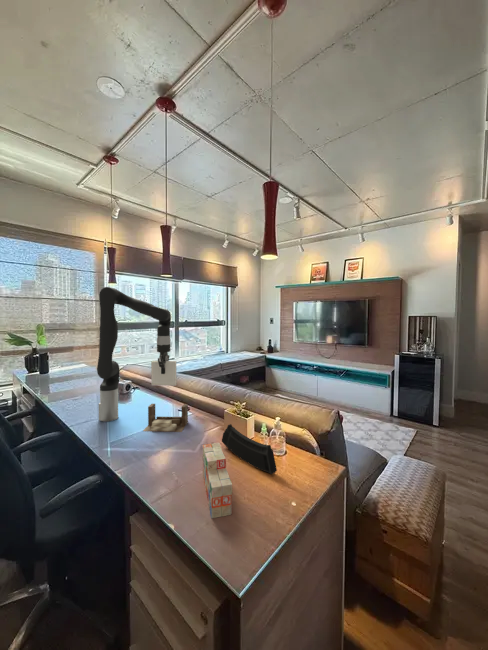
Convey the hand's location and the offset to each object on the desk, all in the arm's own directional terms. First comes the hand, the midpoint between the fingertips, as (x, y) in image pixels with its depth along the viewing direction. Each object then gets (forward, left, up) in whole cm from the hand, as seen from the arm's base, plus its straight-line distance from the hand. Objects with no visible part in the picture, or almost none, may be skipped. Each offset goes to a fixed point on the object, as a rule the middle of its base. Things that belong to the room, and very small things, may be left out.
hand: (163, 373), depth 155 cm
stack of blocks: (+40, -65, -26) cm, 81 cm away
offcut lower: (+6, -18, -25) cm, 31 cm away
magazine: (+49, -43, -26) cm, 71 cm away
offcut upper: (+5, -18, -23) cm, 30 cm away
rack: (+6, -14, -26) cm, 30 cm away
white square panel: (0, 0, -7) cm, 7 cm away
